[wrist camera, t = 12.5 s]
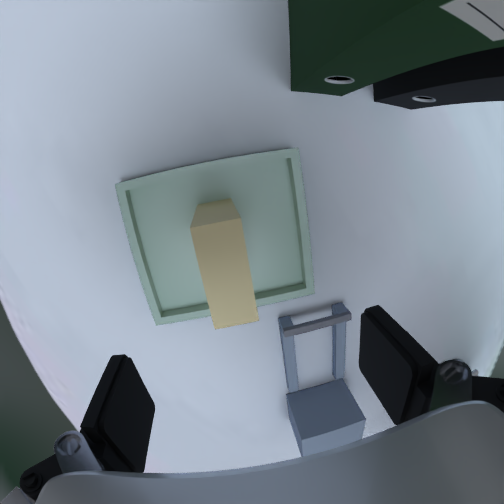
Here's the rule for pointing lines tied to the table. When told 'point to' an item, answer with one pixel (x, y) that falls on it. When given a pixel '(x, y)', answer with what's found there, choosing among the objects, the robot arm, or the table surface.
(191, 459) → the table surface
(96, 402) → the robot arm
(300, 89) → the pair of upright books
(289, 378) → the dispenser
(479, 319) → the table surface
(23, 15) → the table surface
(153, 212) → the tray
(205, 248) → the block
